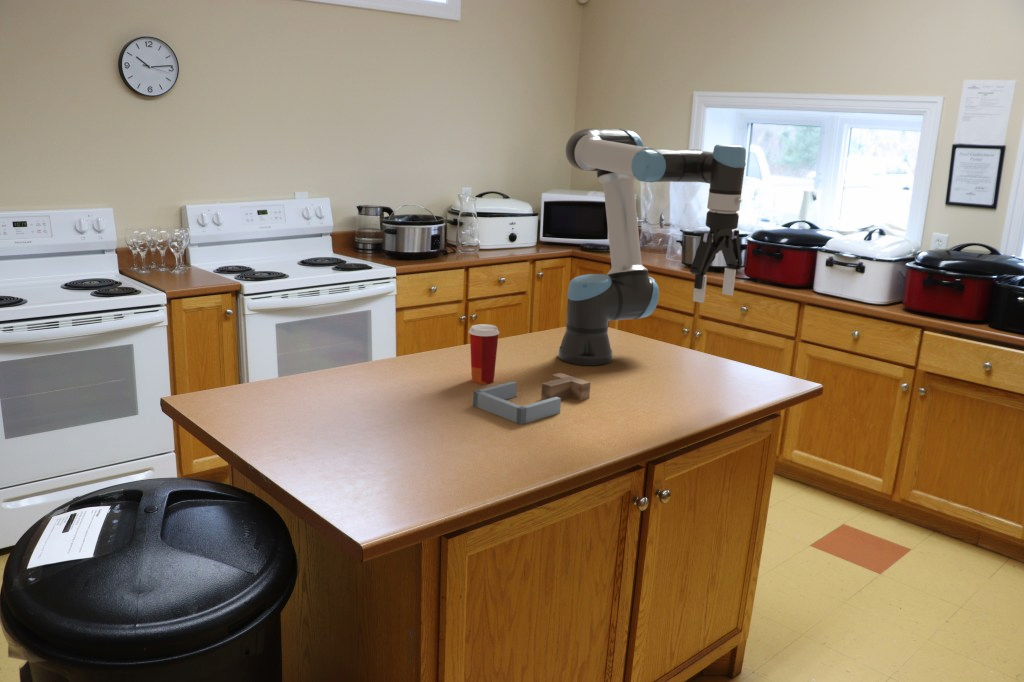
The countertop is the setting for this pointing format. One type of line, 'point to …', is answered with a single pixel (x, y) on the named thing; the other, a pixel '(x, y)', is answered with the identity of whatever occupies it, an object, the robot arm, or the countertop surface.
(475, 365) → the paper cup
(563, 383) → the tee block
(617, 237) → the robot arm
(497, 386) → the corral
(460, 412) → the countertop surface
